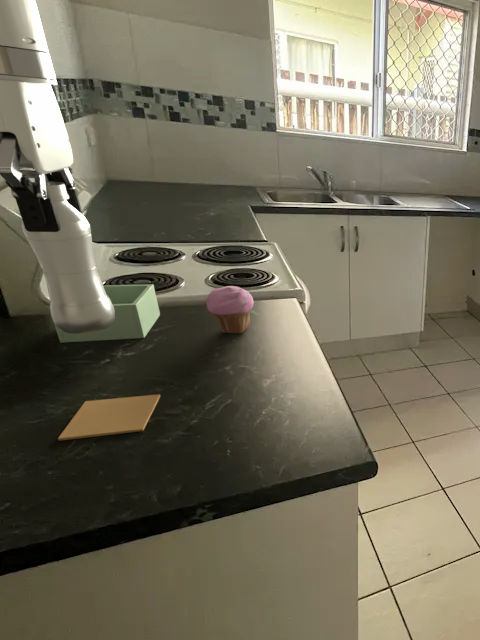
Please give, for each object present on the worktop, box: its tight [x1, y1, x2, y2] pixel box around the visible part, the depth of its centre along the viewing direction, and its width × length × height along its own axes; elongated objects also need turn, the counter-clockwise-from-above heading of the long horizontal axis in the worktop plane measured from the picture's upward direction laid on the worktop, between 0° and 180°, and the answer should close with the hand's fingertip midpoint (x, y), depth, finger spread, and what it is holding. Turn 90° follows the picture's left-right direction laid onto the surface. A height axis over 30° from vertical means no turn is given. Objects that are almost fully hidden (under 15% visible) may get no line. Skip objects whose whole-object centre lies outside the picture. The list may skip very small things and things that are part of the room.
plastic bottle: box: [21, 181, 115, 334], centre depth 63 cm, size 6×7×20 cm
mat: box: [57, 393, 161, 442], centre depth 73 cm, size 10×10×1 cm
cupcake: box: [206, 285, 255, 335], centre depth 102 cm, size 9×9×10 cm
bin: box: [48, 283, 161, 344], centre depth 98 cm, size 14×13×7 cm
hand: (56, 223), depth 61 cm, fingers closed on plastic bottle, 6 cm apart
